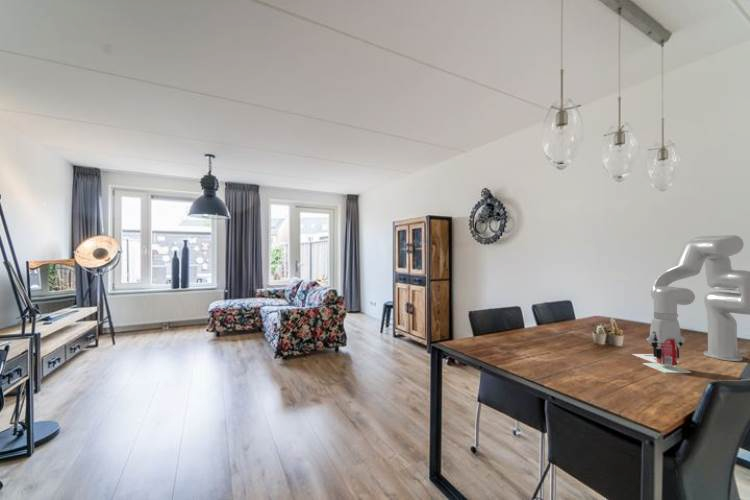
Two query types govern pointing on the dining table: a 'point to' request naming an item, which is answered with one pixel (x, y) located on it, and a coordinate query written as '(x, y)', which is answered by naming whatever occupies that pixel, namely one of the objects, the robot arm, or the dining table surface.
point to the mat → (666, 368)
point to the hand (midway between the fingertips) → (666, 357)
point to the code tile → (648, 357)
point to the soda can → (668, 353)
